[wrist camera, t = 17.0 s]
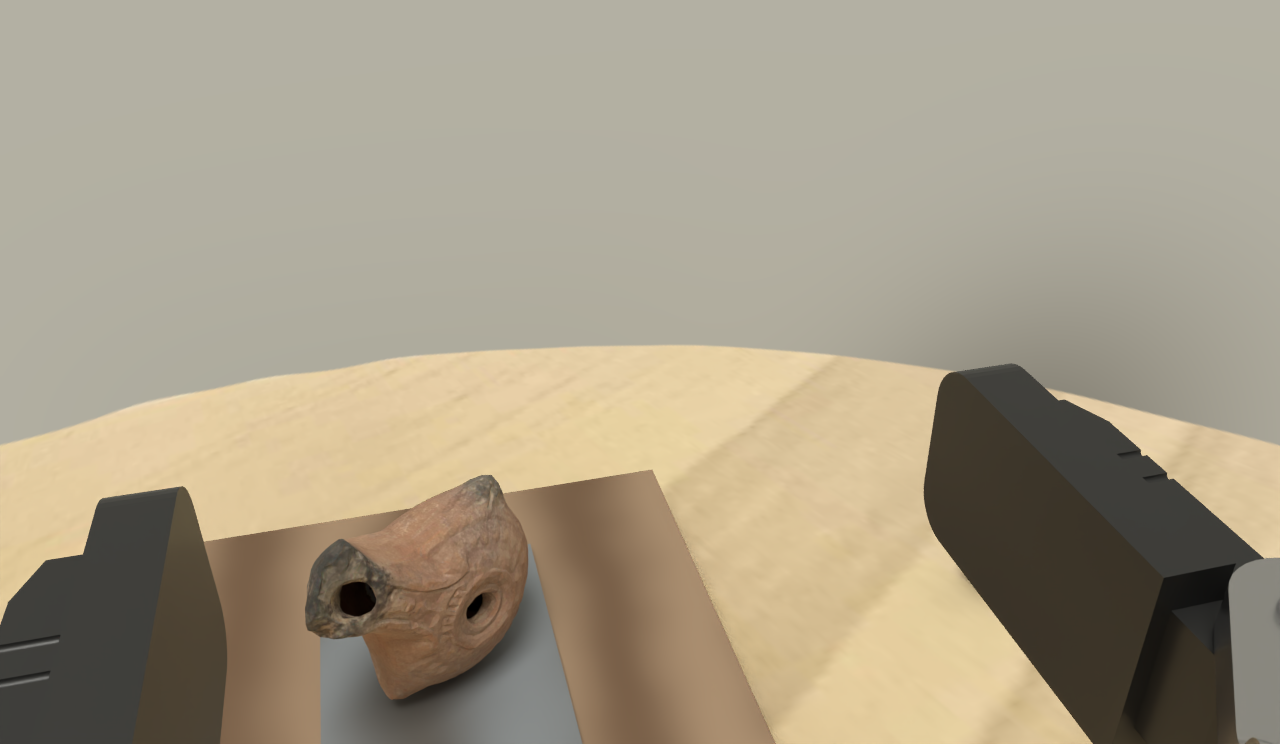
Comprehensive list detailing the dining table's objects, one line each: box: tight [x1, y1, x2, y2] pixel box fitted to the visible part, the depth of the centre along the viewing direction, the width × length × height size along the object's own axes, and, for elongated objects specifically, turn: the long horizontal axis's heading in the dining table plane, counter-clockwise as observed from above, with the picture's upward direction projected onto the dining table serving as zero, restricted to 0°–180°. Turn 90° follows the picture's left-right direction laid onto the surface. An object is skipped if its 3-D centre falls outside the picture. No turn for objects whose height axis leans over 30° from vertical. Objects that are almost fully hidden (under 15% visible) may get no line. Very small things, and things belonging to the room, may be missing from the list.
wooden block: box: [204, 470, 775, 744], centre depth 39 cm, size 20×16×3 cm
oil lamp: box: [305, 475, 528, 700], centre depth 35 cm, size 9×4×8 cm, turn 148°
